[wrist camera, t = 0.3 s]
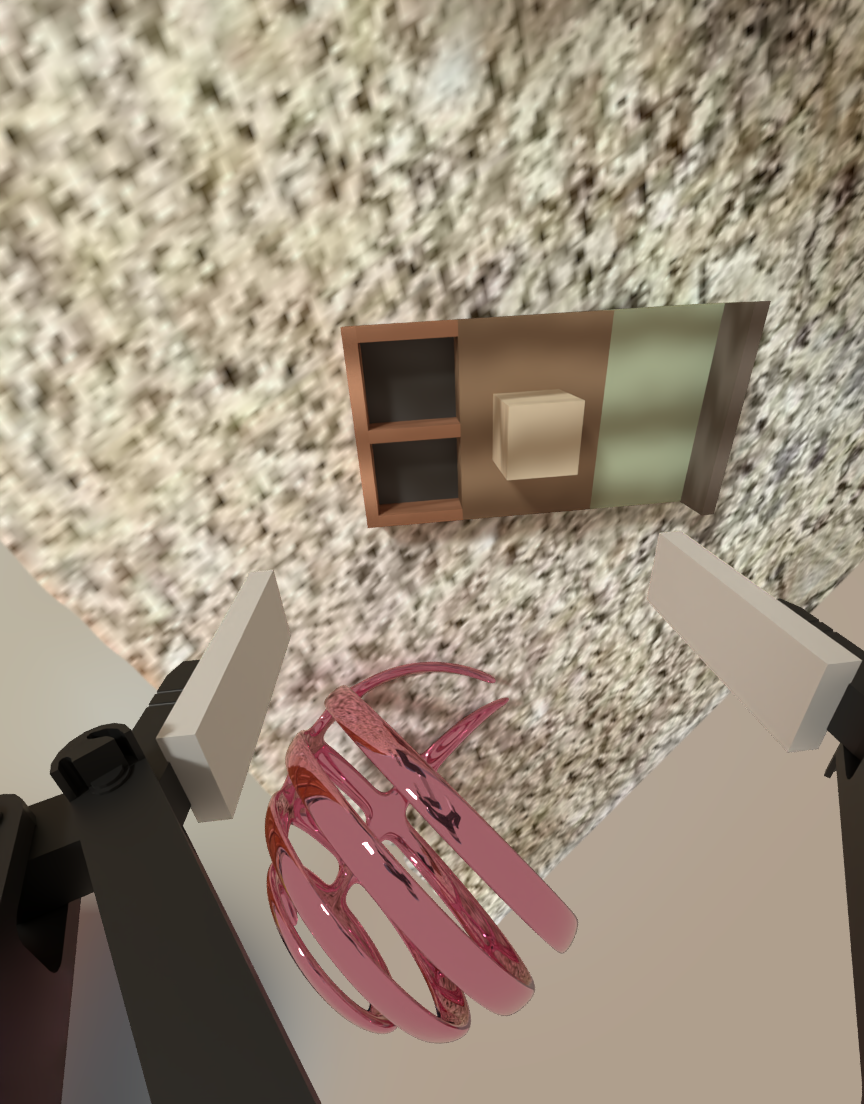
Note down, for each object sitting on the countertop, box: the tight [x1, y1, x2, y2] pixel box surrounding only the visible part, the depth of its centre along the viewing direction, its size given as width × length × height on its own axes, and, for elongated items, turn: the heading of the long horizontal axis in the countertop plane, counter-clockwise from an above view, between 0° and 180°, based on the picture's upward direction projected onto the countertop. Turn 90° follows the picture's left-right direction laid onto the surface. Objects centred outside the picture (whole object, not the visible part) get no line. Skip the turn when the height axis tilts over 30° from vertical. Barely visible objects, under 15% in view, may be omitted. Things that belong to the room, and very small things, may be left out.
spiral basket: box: [265, 662, 578, 1043], centre depth 40 cm, size 28×28×27 cm
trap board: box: [341, 301, 771, 528], centre depth 34 cm, size 15×28×6 cm, turn 93°
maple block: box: [492, 389, 585, 480], centre depth 32 cm, size 5×5×5 cm
